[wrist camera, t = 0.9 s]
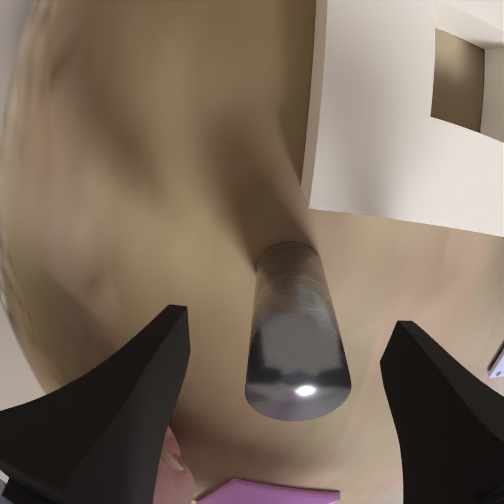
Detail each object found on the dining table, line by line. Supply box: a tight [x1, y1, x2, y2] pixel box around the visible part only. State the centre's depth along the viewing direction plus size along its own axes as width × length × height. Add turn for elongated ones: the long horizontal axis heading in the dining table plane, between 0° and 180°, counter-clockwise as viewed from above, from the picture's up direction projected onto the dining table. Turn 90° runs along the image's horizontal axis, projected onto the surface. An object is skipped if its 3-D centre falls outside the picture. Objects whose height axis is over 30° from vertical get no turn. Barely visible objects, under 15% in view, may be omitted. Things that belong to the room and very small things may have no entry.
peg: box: [245, 241, 351, 421], centre depth 11 cm, size 3×3×7 cm
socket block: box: [301, 0, 504, 237], centre depth 8 cm, size 12×12×3 cm
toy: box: [153, 425, 194, 504], centre depth 16 cm, size 12×11×15 cm
